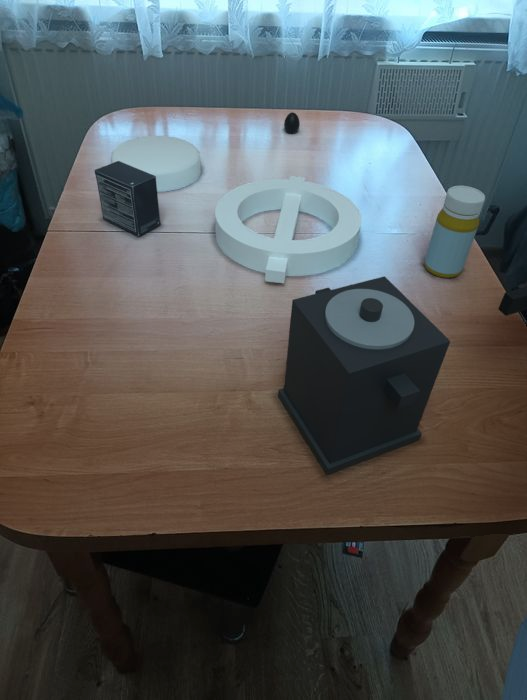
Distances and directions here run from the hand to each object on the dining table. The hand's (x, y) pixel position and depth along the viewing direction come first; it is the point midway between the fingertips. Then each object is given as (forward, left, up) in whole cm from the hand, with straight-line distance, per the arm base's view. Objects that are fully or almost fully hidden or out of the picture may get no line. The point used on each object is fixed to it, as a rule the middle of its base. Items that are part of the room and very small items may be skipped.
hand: (505, 304), depth 69 cm
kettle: (+1, +21, -15) cm, 25 cm away
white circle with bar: (+46, +8, -15) cm, 49 cm away
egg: (+92, -16, -15) cm, 95 cm away
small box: (+61, +35, -15) cm, 72 cm away
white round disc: (+81, +24, -15) cm, 86 cm away
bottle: (+25, -14, -15) cm, 33 cm away
